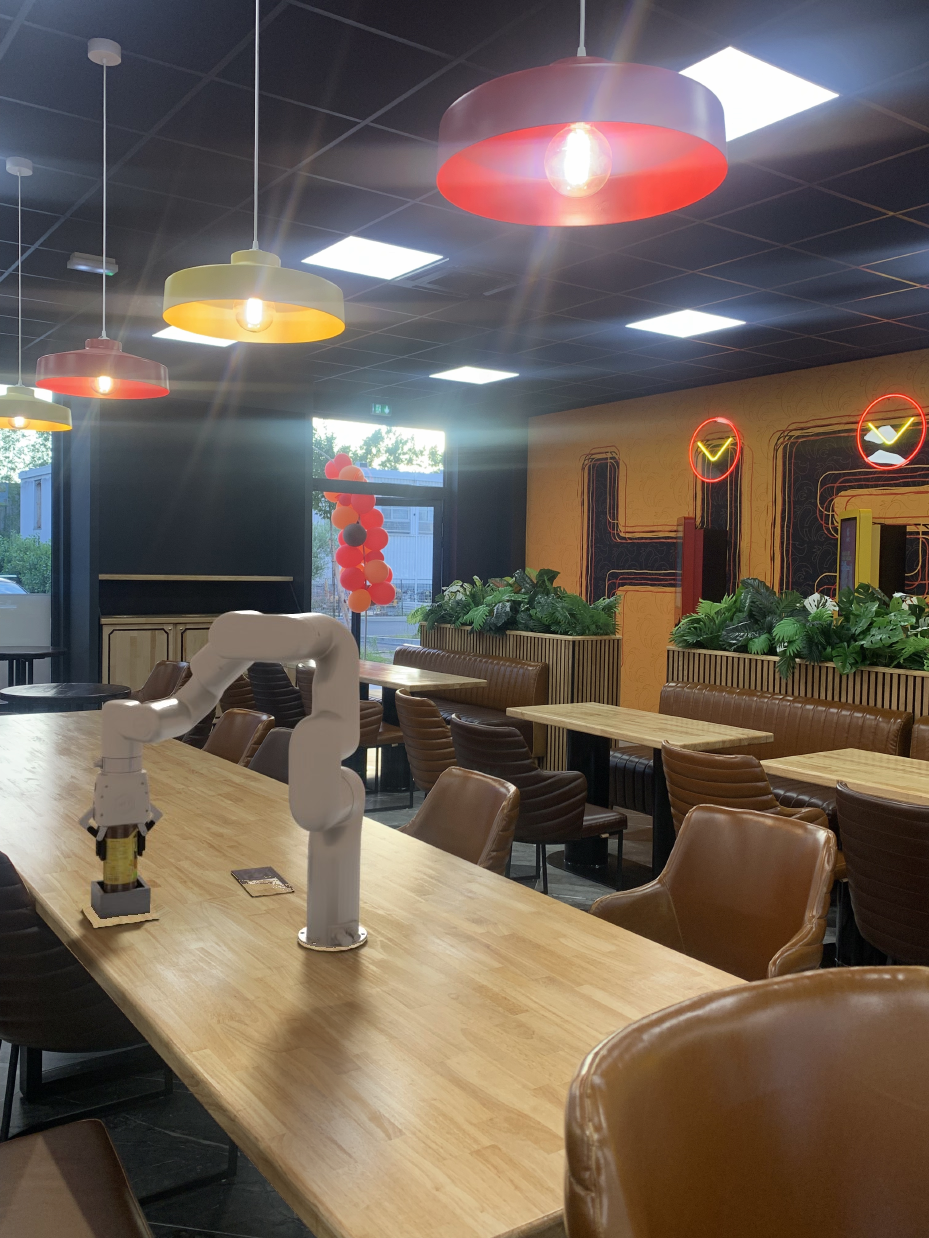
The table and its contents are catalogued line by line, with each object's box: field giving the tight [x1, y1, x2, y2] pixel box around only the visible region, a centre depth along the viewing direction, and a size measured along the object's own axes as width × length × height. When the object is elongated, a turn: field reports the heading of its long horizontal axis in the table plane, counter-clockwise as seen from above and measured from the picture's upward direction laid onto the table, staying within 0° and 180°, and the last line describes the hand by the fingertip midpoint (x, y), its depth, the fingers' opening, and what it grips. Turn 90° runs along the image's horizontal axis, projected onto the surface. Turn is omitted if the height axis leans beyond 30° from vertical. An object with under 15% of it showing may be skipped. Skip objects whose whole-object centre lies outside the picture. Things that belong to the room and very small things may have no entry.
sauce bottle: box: [102, 824, 139, 893], centre depth 192 cm, size 6×6×20 cm
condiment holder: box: [90, 874, 152, 919], centre depth 193 cm, size 12×12×6 cm
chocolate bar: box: [230, 866, 294, 891], centre depth 215 cm, size 9×1×18 cm
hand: (120, 856), depth 193 cm, fingers closed on sauce bottle, 6 cm apart
